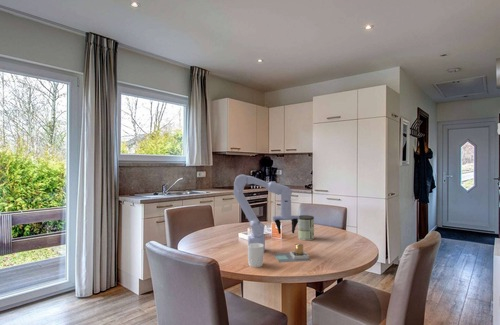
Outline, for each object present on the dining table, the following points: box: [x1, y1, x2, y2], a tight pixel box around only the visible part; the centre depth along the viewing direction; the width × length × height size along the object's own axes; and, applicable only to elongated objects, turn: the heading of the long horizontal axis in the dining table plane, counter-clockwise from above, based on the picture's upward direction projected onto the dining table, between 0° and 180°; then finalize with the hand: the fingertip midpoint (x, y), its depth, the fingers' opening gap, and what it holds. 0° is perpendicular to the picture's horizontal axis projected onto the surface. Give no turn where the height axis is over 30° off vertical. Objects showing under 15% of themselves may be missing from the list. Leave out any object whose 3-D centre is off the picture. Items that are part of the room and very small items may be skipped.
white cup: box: [246, 243, 265, 268], centre depth 137 cm, size 8×8×10 cm
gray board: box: [273, 250, 312, 263], centre depth 147 cm, size 16×14×2 cm
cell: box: [294, 243, 304, 256], centre depth 148 cm, size 4×4×7 cm
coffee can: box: [297, 214, 315, 241], centre depth 187 cm, size 10×10×14 cm
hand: (286, 233), depth 158 cm, fingers open, 7 cm apart
